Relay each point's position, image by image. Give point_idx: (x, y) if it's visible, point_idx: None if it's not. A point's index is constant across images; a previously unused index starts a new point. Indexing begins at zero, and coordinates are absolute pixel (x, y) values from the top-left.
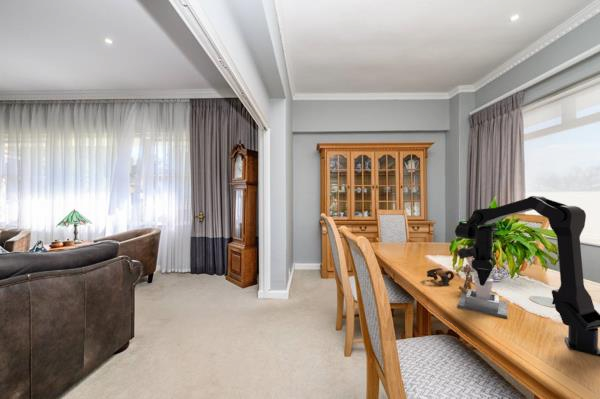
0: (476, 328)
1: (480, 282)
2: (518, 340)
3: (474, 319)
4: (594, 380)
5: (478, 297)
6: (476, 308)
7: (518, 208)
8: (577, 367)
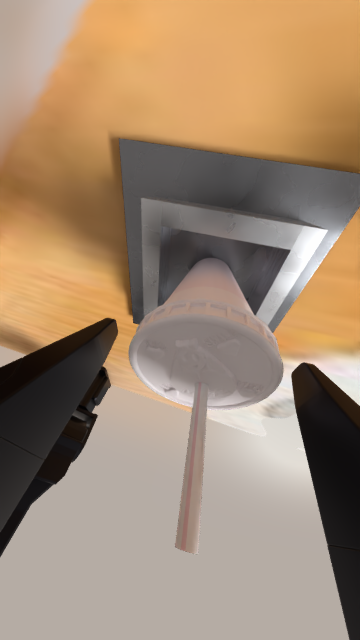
0: None
1: (86, 331)
2: (30, 306)
3: (52, 224)
4: (9, 348)
5: (189, 271)
6: (131, 244)
7: None
8: (23, 346)
